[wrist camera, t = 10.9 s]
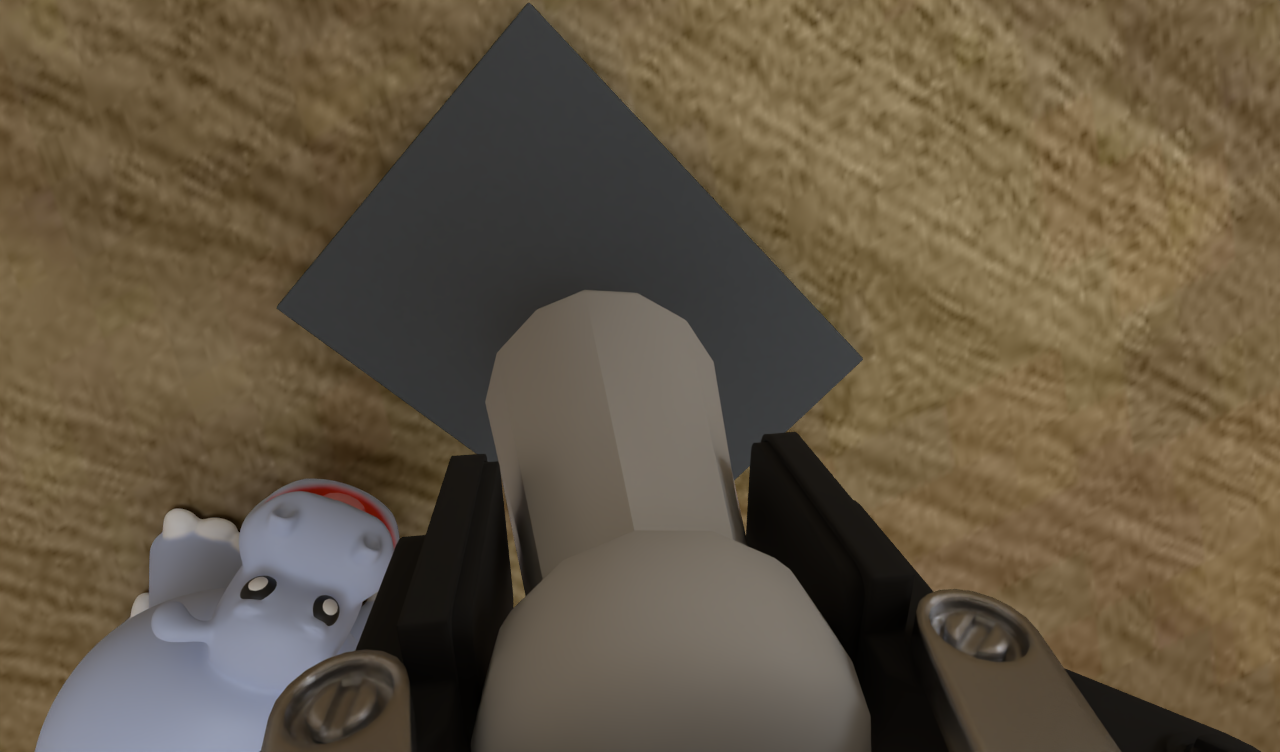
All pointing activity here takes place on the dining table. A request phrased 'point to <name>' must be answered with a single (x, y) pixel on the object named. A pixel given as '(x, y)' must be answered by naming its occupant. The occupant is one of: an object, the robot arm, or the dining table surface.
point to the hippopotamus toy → (228, 624)
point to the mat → (553, 251)
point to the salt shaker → (643, 558)
